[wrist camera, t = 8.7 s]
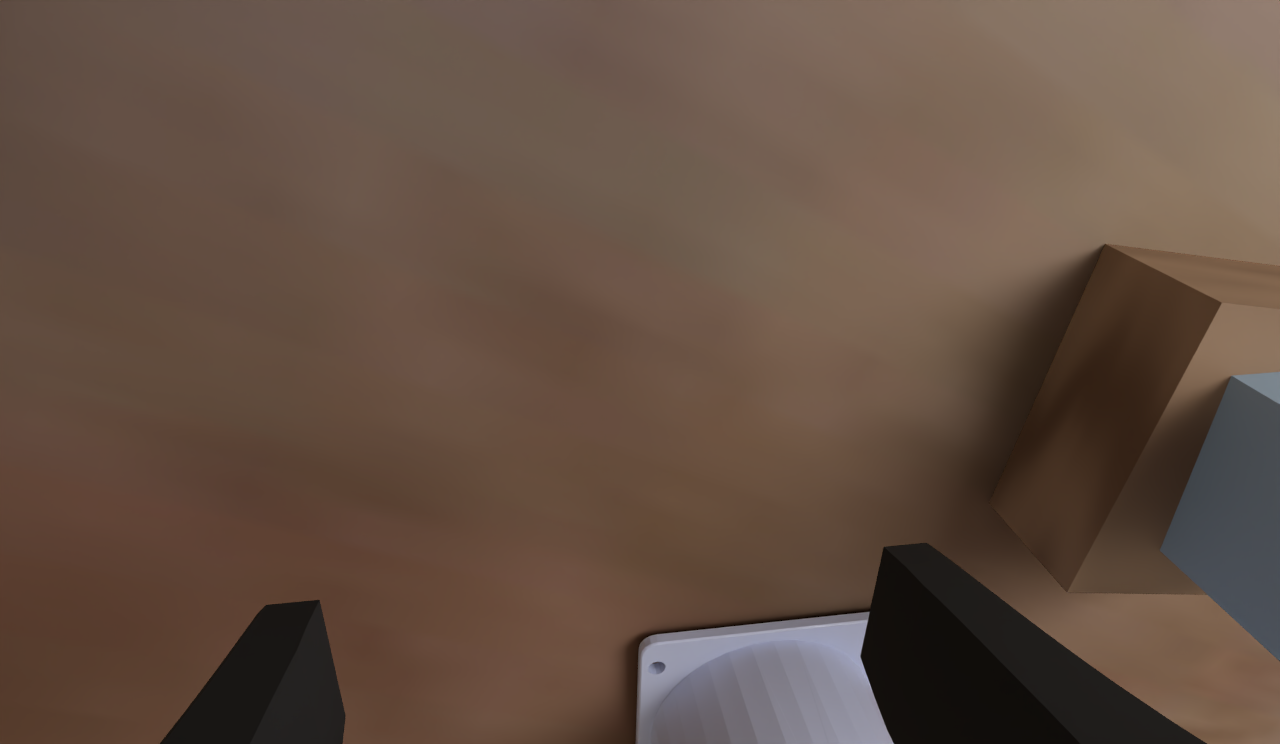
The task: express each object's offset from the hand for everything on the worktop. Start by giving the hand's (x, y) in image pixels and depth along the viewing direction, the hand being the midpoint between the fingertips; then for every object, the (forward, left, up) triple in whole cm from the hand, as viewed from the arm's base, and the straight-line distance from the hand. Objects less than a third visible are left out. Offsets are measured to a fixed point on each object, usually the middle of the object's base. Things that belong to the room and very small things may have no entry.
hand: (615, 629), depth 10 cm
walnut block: (-3, -17, -10) cm, 20 cm away
